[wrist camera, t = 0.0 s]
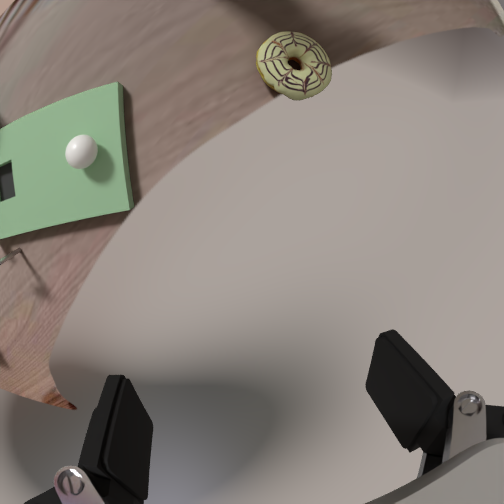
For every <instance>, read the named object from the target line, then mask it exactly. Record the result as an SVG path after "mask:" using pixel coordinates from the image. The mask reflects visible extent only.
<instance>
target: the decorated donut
mask: <svg viewBox="0 0 504 504" xmlns="http://www.w3.org/2000/svg"><path fill="white" fill-rule="evenodd" d="M256 58H257V61H256V66H257V69H258V71H259V73H260V75H261V77H262V79H263V80H264V82H265V83H266V84H267V85H268V86H269V87H270V88H272V89H273V90H275V91H277V92H279V93H281V94H284V95H285V96H287V97H288V98H290V99H292V100H303V99H306V98H309V97H313V96H314V95H316V94H318V93H320V92H321V91H323V90H324V89H325V88H326V87H327V86H328V84H329V83H330V81H331V75H332V70H331V65H330V60H329V58H328V56H327V54H326V53H325V51H324V50H323V48H322V47H321V46H320V45H319V44H318V43H317V42H316V41H314V40H313V39H311V38H310V37H308V36H306V35H304V34H302V33H298V32H289V31H287V32H279V33H277V34H274V35H272V36H271V37H270V38H268V39H267V40H266V41H265V42H264V43H263V44H262V46H261V47H260V48H259V50H258V52H257V55H256ZM288 60H295V61H296V62H298V63H299V65H300V66H301V70H300V71H299V70H293V68H292V67H291V66H290V65H288Z"/></svg>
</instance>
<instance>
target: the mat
mask: <svg viewBox="0 0 504 504" xmlns="http://www.w3.org/2000/svg"><path fill="white" fill-rule="evenodd" d="M78 135H89V136H91V137H92V138H93V139H94V140H95V141H96V143H97V147H98V153H97V156H96V159H95V160H94V162H93V163H92V164H91V165H90V166H88V167H87V168H84V169H75V168H73V167H71V166H70V165H69V164H68V162H67V160H66V156H65V151H66V147H67V145H68V143H69V142H70V141H71V140H72V139H73V138H74V137H76V136H78ZM133 207H134V202H133V195H132V188H131V181H130V173H129V165H128V156H127V147H126V136H125V122H124V105H123V85H121V84H120V83H119V82H114V83H111V84H107V85H104V86H100V87H97V88H94V89H91V90H88V91H85V92H82V93H79V94H76V95H73V96H71V97H68V98H65V99H63V100H60V101H58V102H55V103H53V104H50V105H48V106H46V107H43V108H41V109H39V110H37V111H34V112H32V113H30V114H28V115H26V116H24V117H22V118H20V119H18V120H16V121H14V122H12V123H10V124H8V125H6V126H5V127H3V128H1V129H0V239H3V238H7V237H10V236H14V235H18V234H21V233H25V232H29V231H33V230H37V229H41V228H45V227H49V226H54V225H58V224H62V223H67V222H71V221H76V220H81V219H85V218H90V217H95V216H100V215H105V214H111V213H116V212H121V211H127V210H131V209H132V208H133Z"/></svg>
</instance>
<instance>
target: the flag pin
mask: <svg viewBox="0 0 504 504" xmlns="http://www.w3.org/2000/svg"><path fill="white" fill-rule="evenodd" d="M20 252H21V248H18V249H16V250H14V251H13V252H11V253H9V254H8V255H6V256H5V257H3V258H2V259H0V265H1V264H3V263H4V262H6V261H7V260H9V259H10V258H12V257H13V256H15V255H16V254H18V253H20Z"/></svg>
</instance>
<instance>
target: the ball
mask: <svg viewBox="0 0 504 504" xmlns="http://www.w3.org/2000/svg"><path fill="white" fill-rule="evenodd" d="M97 153H98V147H97V143H96V141H95V140H94V139H93V138H92V137H91V136H89V135H78V136H76V137H74V138H73V139H72V140H71V141H70V142H69V143H68V145H67V147H66V151H65V156H66V160H67V162H68V164H69V165H70V166H71V167H73V168H75V169H84V168H87V167H88V166H90V165H91V164H92V163H93V162H94V160H95V159H96V156H97Z"/></svg>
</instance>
